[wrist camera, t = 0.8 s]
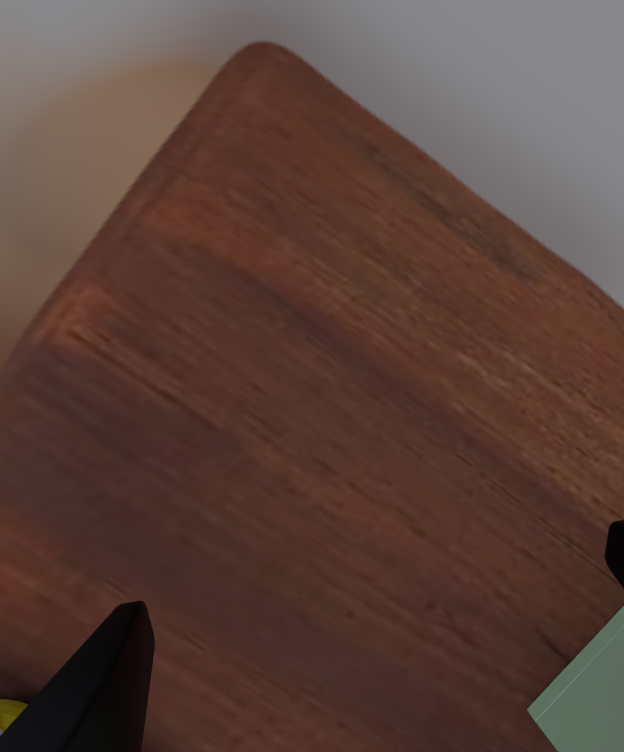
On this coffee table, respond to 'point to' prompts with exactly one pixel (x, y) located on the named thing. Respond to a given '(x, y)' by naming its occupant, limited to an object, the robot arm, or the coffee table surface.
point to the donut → (9, 712)
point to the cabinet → (587, 696)
